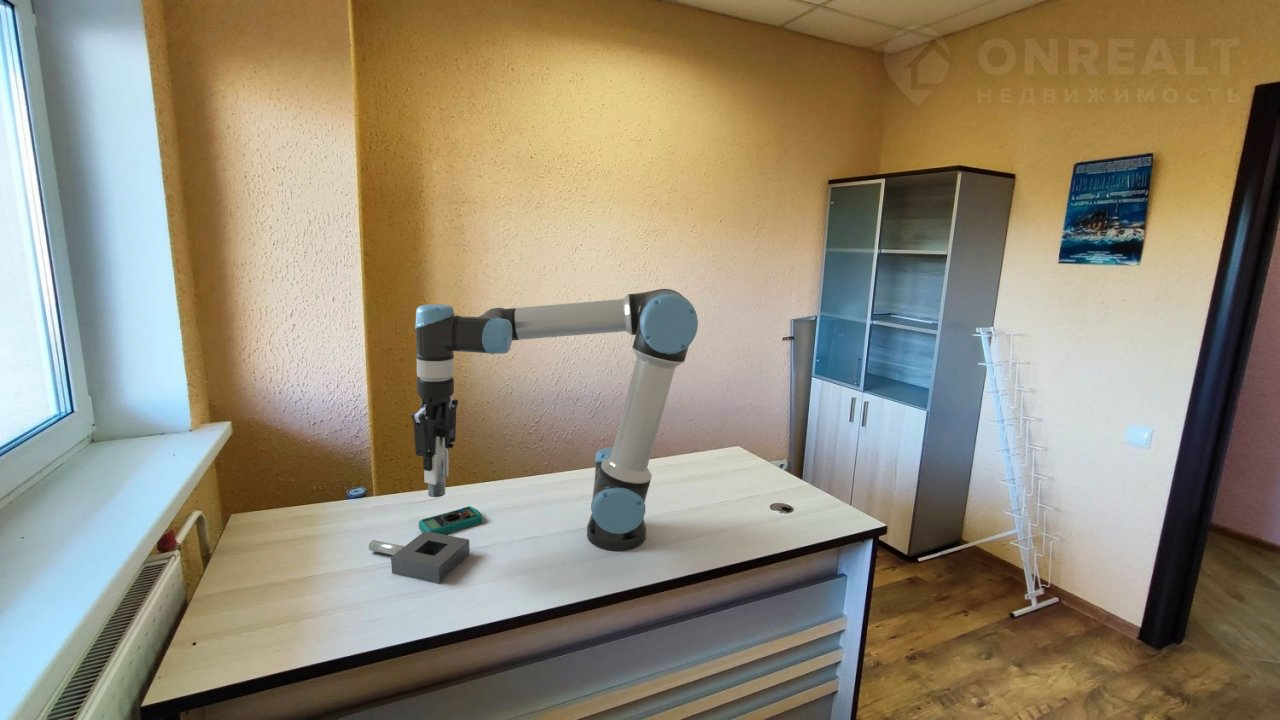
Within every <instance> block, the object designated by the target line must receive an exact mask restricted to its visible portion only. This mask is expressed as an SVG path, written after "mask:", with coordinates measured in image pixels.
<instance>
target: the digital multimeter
mask: <svg viewBox="0 0 1280 720" xmlns="http://www.w3.org/2000/svg"><path fill="white" fill-rule="evenodd" d="M481 524H483V516H482V513H481V512H480V511H479V510H478V509H476V508H474V507H473V506H472V505H471V506H470V505H469V506H465V507H462V508H458V509H456V510H452V511H449V512H445V513H441V514H438V515H434V516H431V517H426V518H422V519H420V520H419V521H418V528H419V529H418V530H420V532H421V534H422V533H423V532H424V531H428V532H433V533H438V534H443V535H449V534H450V533H454V532H456V531H461V530H464V529H468V528H471V527H474V526H477V525H481Z"/></svg>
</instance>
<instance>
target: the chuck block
mask: <svg viewBox="0 0 1280 720" xmlns="http://www.w3.org/2000/svg"><path fill="white" fill-rule="evenodd" d="M368 550H369V551H372V552H376V553H379V554H385V555H390V561H391V564H390V565H391V574H393V575H398V576H403V577H408V578H411V579H416V580H420V581H425V582H430V583H435V584H441V583H442V582H443V581H444V580H445V579H446V578H447V577H448V576H449V575H451V573H452V572H453V571H455V569H457V568H458V567H459V565H461V564H462V563H463V562H464V561H465V560H466V559H467V558H468V557H469V556H470V554H471V552H470V539H468V538H464V537H458V536H453V535H449V534H445V535H443V534H438V533H433V532H428V531H424V532H423V533H422V532H421V533H420V534H419V535H418V536H416V537H415V538H413V540H411V541H410V542H409V543H407V544H406V545H399V544H395V543H392V542H391V543H390V542H385V541H381V540H375V539H372V540H371V541H370V542H369V545H368Z"/></svg>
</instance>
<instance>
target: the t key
mask: <svg viewBox="0 0 1280 720" xmlns="http://www.w3.org/2000/svg"><path fill="white" fill-rule="evenodd" d="M454 436H455V437H456V435H455V428H451V427H445V426H439V425H437V431H436V441H435V451H434V455H437V484H430V483H427V486H428V487H427V491H428V492H427V493H428V496H429V497H430V498H440V497H443V496H445V495H446V477H445V438H452V437H454Z"/></svg>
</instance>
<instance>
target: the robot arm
mask: <svg viewBox="0 0 1280 720" xmlns="http://www.w3.org/2000/svg"><path fill="white" fill-rule="evenodd" d="M698 320H699V319H698V315H697V311H696V310H695V307H694V305H693V304H692V302H690V301H689V300H688V299H687V298H686V297H685V296H683V294H681V293H680V292H678V291H676V290H674V289H670V288H660V289H654V290H653V289H652V290H650V291H645V292H643V291H642V292H637V293H629V294H626V295H625V297H624V298H622V299H621V298H620V299H607V300H596V301H595V300H594V301H584V302H583V301H582V302H574V303H573V302H572V303H559V304H557V303H556V304H549V305H548V304H545V305H536V306H535V305H534V306H524V307H523V306H522V307H515V308H514V307H513V308H512V307H511V308H504V307H494V308H490V309H488V310H486V311H485V312H484V313H483V314H481V315H479V316H461V315H456V314H455V311H454V308H453V306H451V305H449V304H443V303H442V304H439V303H431V304H429V303H427V304H422V305H418V307H417V308H416V311H415V326H414V330H415V347H416V348H415V349H416V353H415V355H416V376H417V379H416V394H417V396H418V397H420V399H421V400H420V401H421V402H420V406H419V408H420V409H419V410H418V411H417V412H412V413H411V419H412V423H413V431H414V433H413V434H414V445H415V451H414V452H415V455H416V456H419V457H422V458H423V460H422V461H423V464H422V465H423V466H422V467H423V472H424V473H423V474H424V475H423V476H424V477H423V478H424V480H423V481H424V482H423V483H426V484H428V483H430V484H437V455H434V451H435V441H436V431H437V425H439V426H445V427H451V428H455V436H454V437H452V438H445V478H447V477H449V475H450V474H449V473H450V472H449V471H450V469H449V466H450V465H449V460H450V459H449V458H450V449H453V448H454V445H455V444H454V443H455V442H456V434H457V433H456V432H457V431H456V430H457V429H456V428H457V409H458V406H459V405H458V404H459V400H458V399H455V398H451V397H452V396H453V395H454V393H455V379H454V378H453V376H454V375H455V361H454V360H455V357H454V356H455V355H454V354H455V352H459V353H460V352H463V353H477V354H478V353H479V354H480V353H481V354H490V355H495V354H501V355H502V354H504V355H505V354H507V353H508V352H509V351H510V350H511V347H512V342H514V341H521V340H532V339H544V338H547V339H548V338H557V337H559V338H560V337H570V336H582V335H583V336H584V335H594V334H595V335H596V334H597V335H598V334H606V333H619V332H620V333H621V332H626V333H628V334H629V335H630V336H634V338H633V339H634V340H633V344H632V350H633V352H634V354H635V355H636V360H635V364H634V367H633V371H632V374H631V378H630V381H629V385H628V390H627V393H626V397H625V401H624V405H623V408H622V412H621V416H620V420H619V423H618V426H617V431H616V434H615V439H614V442H613V446H612V447H611V446H609V447H604V448H601V449H599V450H597V451H596V453H595V460H594V463H595V464H594V465H595V470H594V481H593V483H594V484H593V492H592V501H591V505H590V510H591V515H590V517H589V521H588V523H587V526H586V538H587V540H588V541H589V543H591V544H592V545H593V546H595V547H597V548H599V549H603V550H608V551H626V550H631V549H635V548H637V547H639V546H641V545H642V544H643V543H644V542H645V541H646V538H647V526H646V523H645V519H644V518H645V515H646V511H647V510H646V503H645V502H646V498H647V495H648V491H649V487H650V484H651V480H652V473H651V471H650V469H649V468H648V466H649V462H650V460H651V455H652V452H653V449H654V445H655V441H656V438H657V434H658V431H659V428H660V424H661V420H662V416H663V412H664V408H665V406H666V402H667V399H668V395H669V392H670V388H671V385H672V381H673V377H674V374H675V370H676V368H677V367H678V366H680V365H682V364H684V363H685V361H686V357H687V354H688V352H689V347H690V345H691V344H692V343H693V341H694V340H695V338H696V335H697V332H698V330H699V329H698V326H699V321H698Z"/></svg>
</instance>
